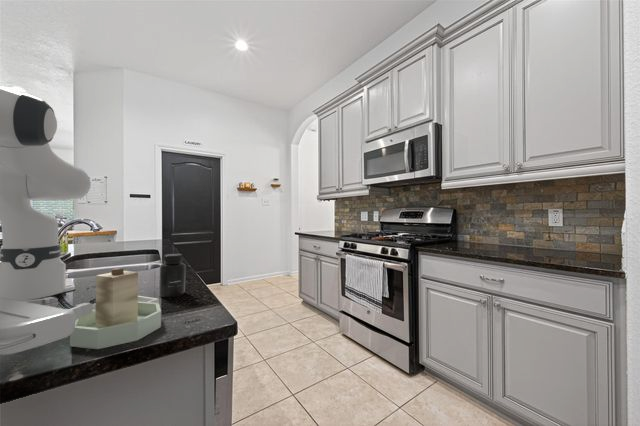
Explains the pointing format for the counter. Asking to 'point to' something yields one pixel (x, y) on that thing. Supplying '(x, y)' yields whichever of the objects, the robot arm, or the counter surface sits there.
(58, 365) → the counter surface
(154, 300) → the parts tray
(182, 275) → the supplement bottle
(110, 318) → the birch canister
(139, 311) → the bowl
